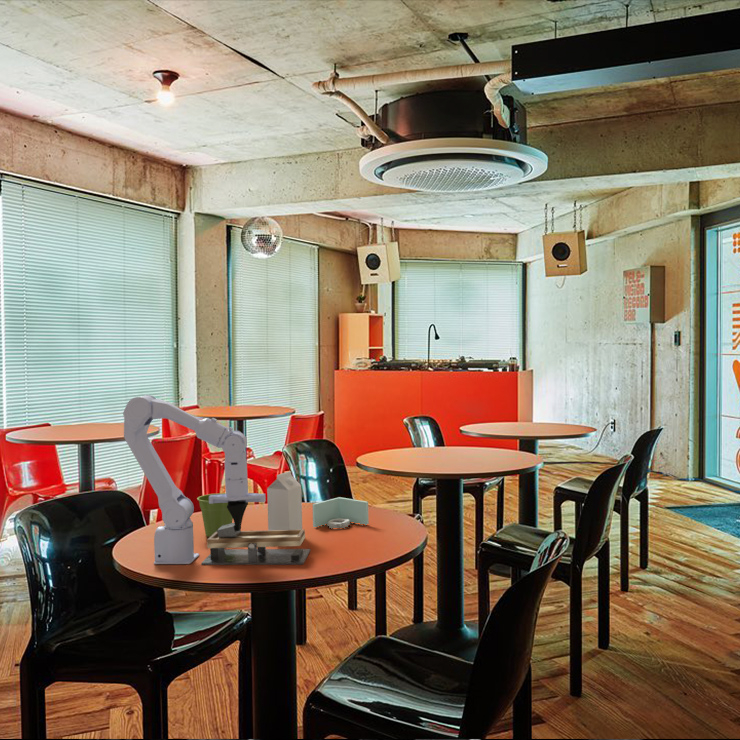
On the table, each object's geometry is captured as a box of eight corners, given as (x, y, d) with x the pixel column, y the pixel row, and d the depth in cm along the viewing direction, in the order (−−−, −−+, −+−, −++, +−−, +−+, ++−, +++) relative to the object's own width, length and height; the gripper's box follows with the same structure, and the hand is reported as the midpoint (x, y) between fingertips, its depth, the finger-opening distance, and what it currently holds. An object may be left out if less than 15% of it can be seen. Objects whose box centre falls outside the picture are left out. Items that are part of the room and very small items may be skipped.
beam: (207, 548, 175) (206, 539, 175) (216, 539, 183) (215, 531, 183) (300, 545, 173) (299, 537, 173) (305, 537, 181) (304, 529, 181)
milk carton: (268, 541, 194) (266, 474, 194) (281, 534, 201) (280, 470, 200) (289, 543, 191) (287, 475, 191) (302, 537, 198) (301, 471, 197)
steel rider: (219, 541, 176) (216, 530, 176) (225, 536, 181) (222, 525, 181) (236, 537, 176) (233, 526, 176) (241, 532, 181) (238, 521, 181)
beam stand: (200, 565, 173) (200, 544, 173) (215, 550, 185) (214, 531, 185) (302, 565, 171) (302, 543, 171) (310, 550, 184) (310, 530, 183)
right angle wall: (313, 528, 208) (312, 504, 208) (340, 520, 217) (339, 497, 217) (341, 534, 200) (341, 509, 200) (368, 526, 209) (368, 501, 209)
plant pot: (231, 540, 196) (230, 501, 195) (191, 540, 197) (190, 501, 197) (244, 529, 207) (243, 492, 207) (206, 529, 209) (205, 492, 209)
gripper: (204, 481, 175) (206, 534, 175) (260, 480, 174) (262, 533, 174) (212, 476, 182) (214, 527, 182) (266, 475, 181) (268, 526, 181)
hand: (238, 530), depth 178 cm, fingers closed, pressing on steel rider
